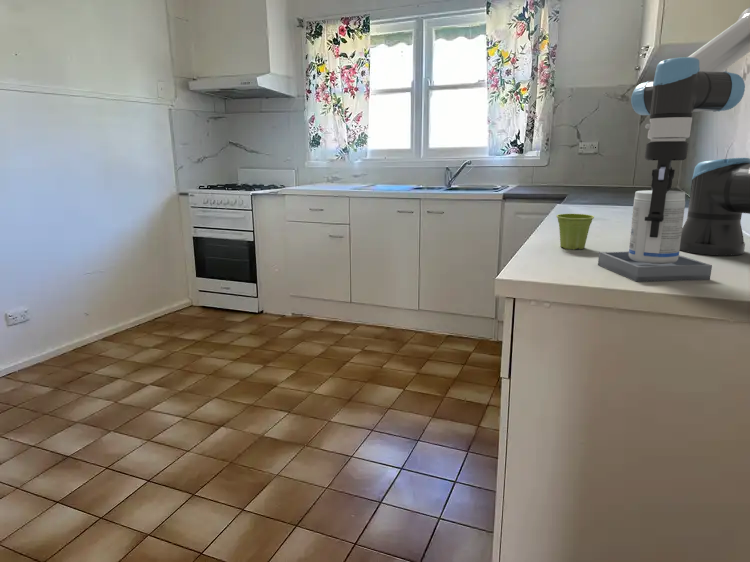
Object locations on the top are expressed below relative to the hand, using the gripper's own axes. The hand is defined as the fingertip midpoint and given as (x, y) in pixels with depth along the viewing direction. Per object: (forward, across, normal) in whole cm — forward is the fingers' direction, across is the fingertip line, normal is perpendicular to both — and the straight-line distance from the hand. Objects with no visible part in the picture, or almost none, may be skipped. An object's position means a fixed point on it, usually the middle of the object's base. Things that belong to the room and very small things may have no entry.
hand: (653, 248), depth 110 cm
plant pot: (+5, -21, -20) cm, 30 cm away
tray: (+5, 0, 0) cm, 5 cm away
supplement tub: (+3, 0, 0) cm, 3 cm away
